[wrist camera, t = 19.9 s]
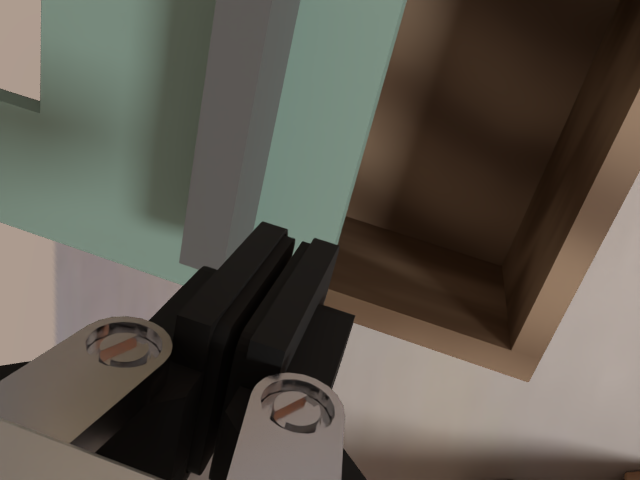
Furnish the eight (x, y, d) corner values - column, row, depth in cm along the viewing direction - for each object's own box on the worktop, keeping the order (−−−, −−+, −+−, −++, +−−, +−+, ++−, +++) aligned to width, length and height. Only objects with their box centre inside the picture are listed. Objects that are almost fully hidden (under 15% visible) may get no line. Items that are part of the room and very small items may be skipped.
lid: (317, 314, 25) (290, 374, 21) (-88, 175, 27) (-178, 207, 23) (438, -111, 17) (429, -136, 14) (-130, -254, 20) (-272, -309, 16)
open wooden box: (513, 281, 32) (528, 382, 24) (182, 174, 34) (94, 234, 26) (657, -28, 25) (746, -33, 17) (224, -139, 27) (120, -190, 19)
